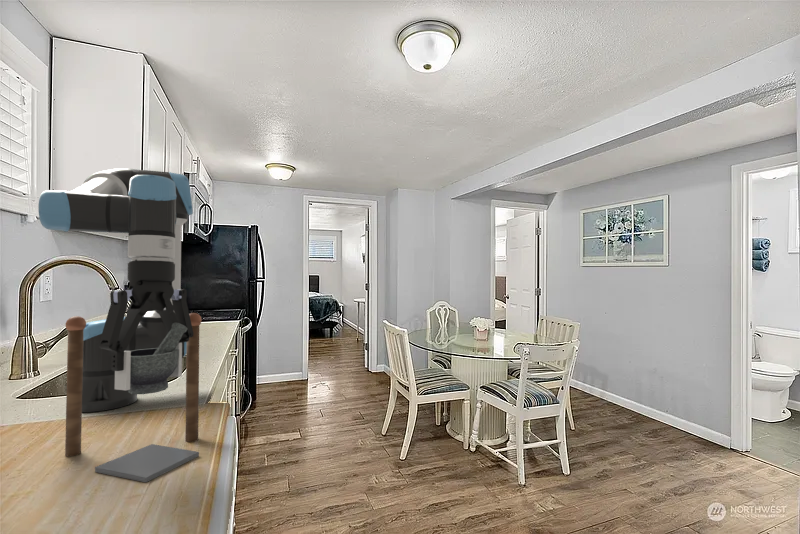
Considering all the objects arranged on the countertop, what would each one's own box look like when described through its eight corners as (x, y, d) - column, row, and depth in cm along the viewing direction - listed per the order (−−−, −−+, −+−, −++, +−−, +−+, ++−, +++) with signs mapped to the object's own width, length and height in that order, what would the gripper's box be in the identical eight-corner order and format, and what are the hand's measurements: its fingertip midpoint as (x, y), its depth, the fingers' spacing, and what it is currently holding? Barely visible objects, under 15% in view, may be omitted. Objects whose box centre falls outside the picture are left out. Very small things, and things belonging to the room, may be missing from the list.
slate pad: (151, 448, 83) (151, 444, 83) (198, 456, 79) (198, 451, 79) (95, 471, 73) (95, 467, 73) (145, 482, 68) (145, 477, 68)
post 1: (76, 449, 82) (79, 315, 83) (87, 451, 81) (90, 315, 82) (58, 456, 79) (61, 316, 80) (69, 458, 78) (72, 316, 79)
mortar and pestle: (115, 400, 70) (116, 328, 70) (116, 388, 78) (117, 323, 78) (190, 390, 76) (190, 323, 76) (184, 380, 84) (184, 319, 84)
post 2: (192, 436, 89) (193, 312, 90) (203, 438, 88) (205, 312, 89) (179, 441, 86) (181, 313, 87) (191, 443, 85) (193, 313, 86)
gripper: (105, 256, 65) (102, 400, 64) (214, 262, 86) (213, 371, 85) (72, 257, 68) (69, 396, 67) (186, 263, 89) (185, 369, 88)
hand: (150, 382), depth 76 cm, fingers closed on mortar and pestle, 10 cm apart
